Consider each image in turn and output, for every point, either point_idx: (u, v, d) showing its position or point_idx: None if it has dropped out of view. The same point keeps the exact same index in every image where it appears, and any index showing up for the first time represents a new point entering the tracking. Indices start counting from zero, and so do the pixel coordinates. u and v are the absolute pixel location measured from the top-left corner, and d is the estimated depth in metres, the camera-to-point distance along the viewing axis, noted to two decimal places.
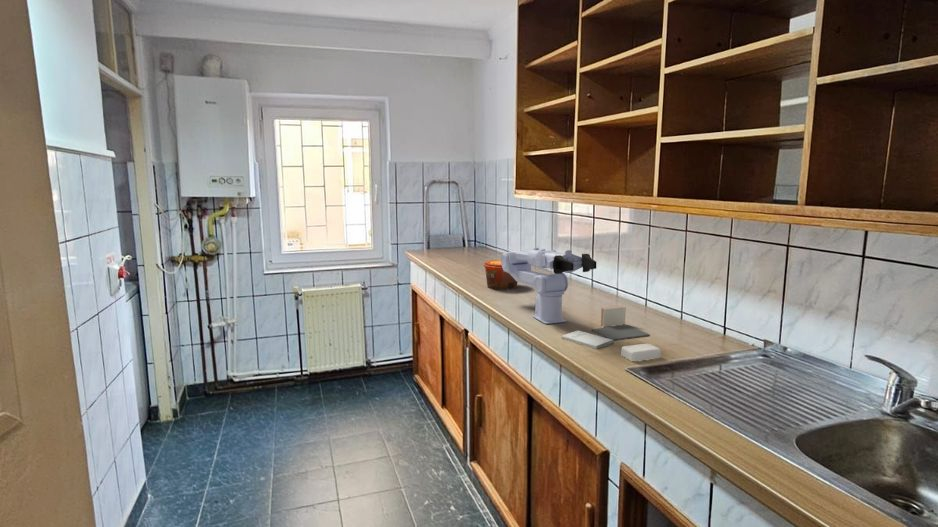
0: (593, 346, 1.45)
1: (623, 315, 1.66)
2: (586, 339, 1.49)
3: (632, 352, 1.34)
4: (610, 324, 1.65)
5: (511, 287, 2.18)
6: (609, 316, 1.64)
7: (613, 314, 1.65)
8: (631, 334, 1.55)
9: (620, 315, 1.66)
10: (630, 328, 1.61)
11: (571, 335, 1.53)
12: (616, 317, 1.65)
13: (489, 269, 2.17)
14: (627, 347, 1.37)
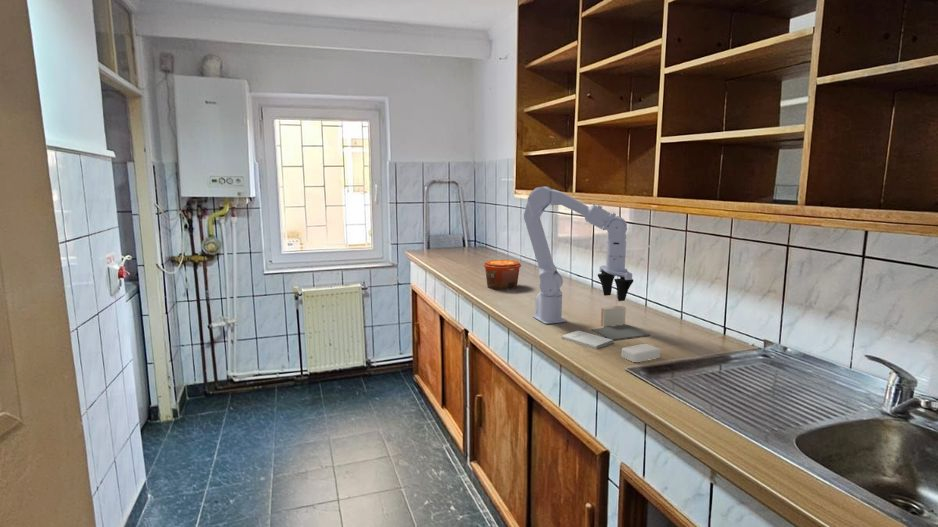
0: (593, 346, 1.45)
1: (623, 315, 1.66)
2: (586, 339, 1.49)
3: (634, 353, 1.33)
4: (610, 324, 1.65)
5: (511, 287, 2.18)
6: (609, 316, 1.64)
7: (613, 314, 1.65)
8: (631, 334, 1.55)
9: (620, 315, 1.66)
10: (630, 328, 1.61)
11: (571, 335, 1.53)
12: (616, 317, 1.65)
13: (489, 269, 2.17)
14: (628, 348, 1.36)
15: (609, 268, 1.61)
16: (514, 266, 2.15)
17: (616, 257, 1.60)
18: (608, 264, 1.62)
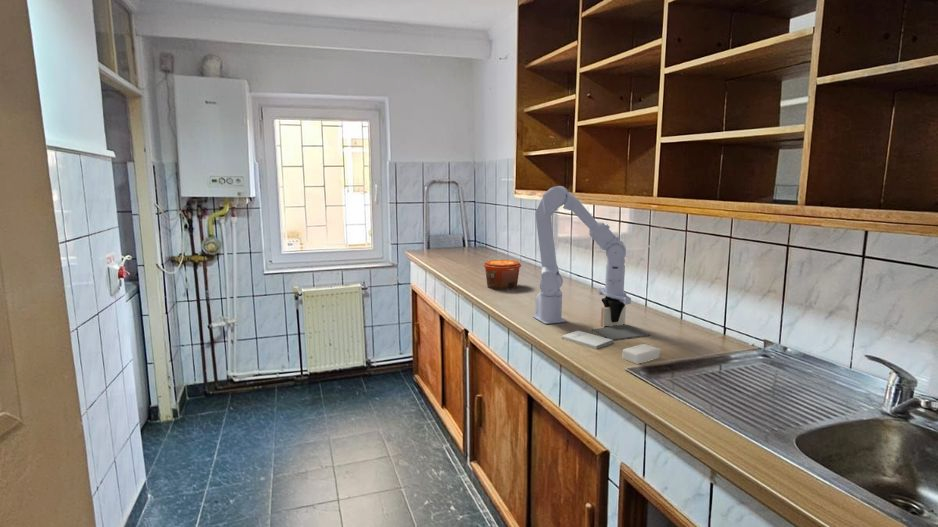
0: (593, 346, 1.45)
1: (623, 315, 1.66)
2: (586, 339, 1.49)
3: (637, 354, 1.32)
4: (610, 324, 1.65)
5: (511, 287, 2.18)
6: (609, 316, 1.64)
7: None
8: (631, 334, 1.55)
9: (620, 314, 1.66)
10: (630, 328, 1.61)
11: (571, 335, 1.53)
12: None
13: (489, 269, 2.17)
14: (629, 349, 1.36)
15: (608, 292, 1.63)
16: (514, 266, 2.15)
17: (615, 281, 1.61)
18: (607, 288, 1.63)
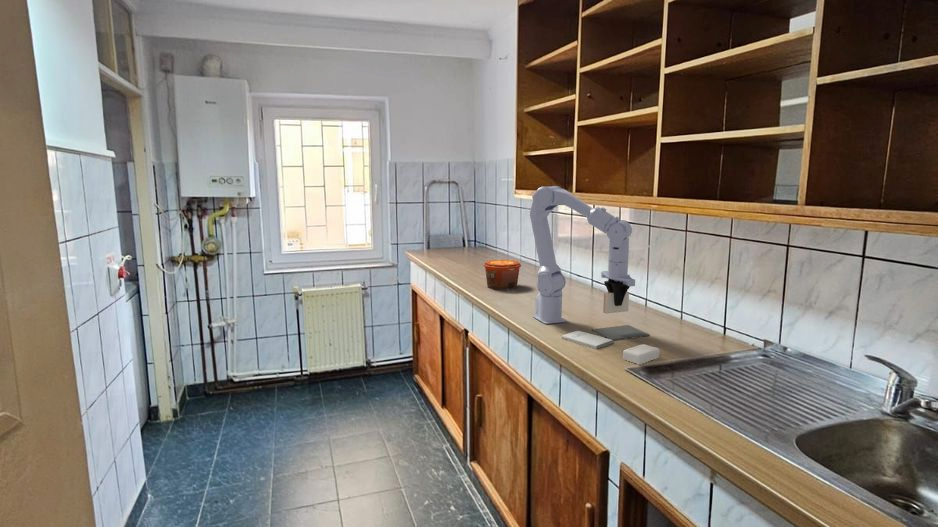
0: (593, 346, 1.45)
1: (626, 301, 1.59)
2: (586, 339, 1.49)
3: (638, 355, 1.32)
4: (613, 310, 1.58)
5: (511, 287, 2.18)
6: (612, 302, 1.57)
7: None
8: (631, 334, 1.55)
9: (623, 300, 1.58)
10: (630, 328, 1.61)
11: (571, 335, 1.53)
12: None
13: (489, 269, 2.17)
14: (629, 350, 1.35)
15: (611, 274, 1.55)
16: (514, 266, 2.15)
17: (618, 262, 1.54)
18: (610, 270, 1.56)
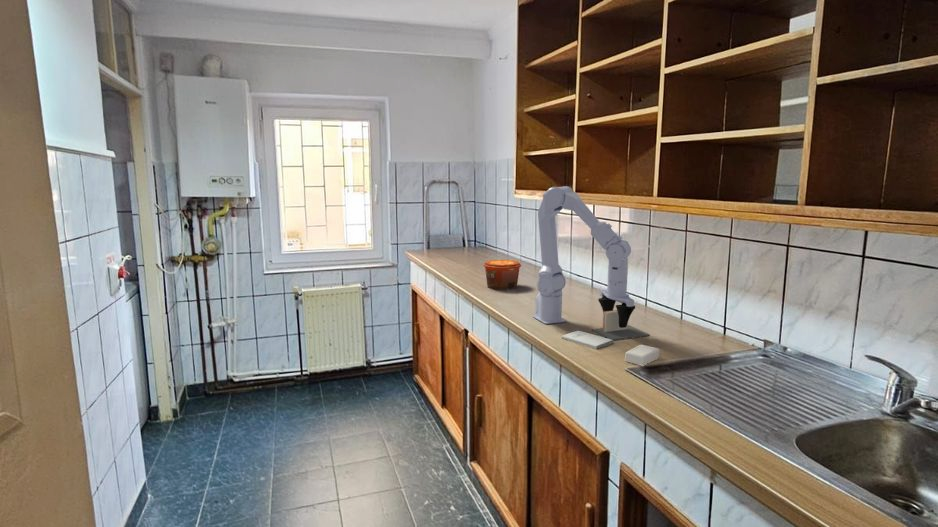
0: (593, 346, 1.45)
1: None
2: (586, 339, 1.49)
3: (642, 356, 1.31)
4: (612, 328, 1.59)
5: (511, 287, 2.18)
6: (611, 320, 1.58)
7: (615, 318, 1.58)
8: (631, 334, 1.55)
9: None
10: (630, 328, 1.61)
11: (571, 335, 1.53)
12: (618, 321, 1.59)
13: (489, 269, 2.17)
14: (631, 352, 1.34)
15: (610, 294, 1.56)
16: (514, 266, 2.15)
17: (617, 282, 1.55)
18: (609, 289, 1.57)
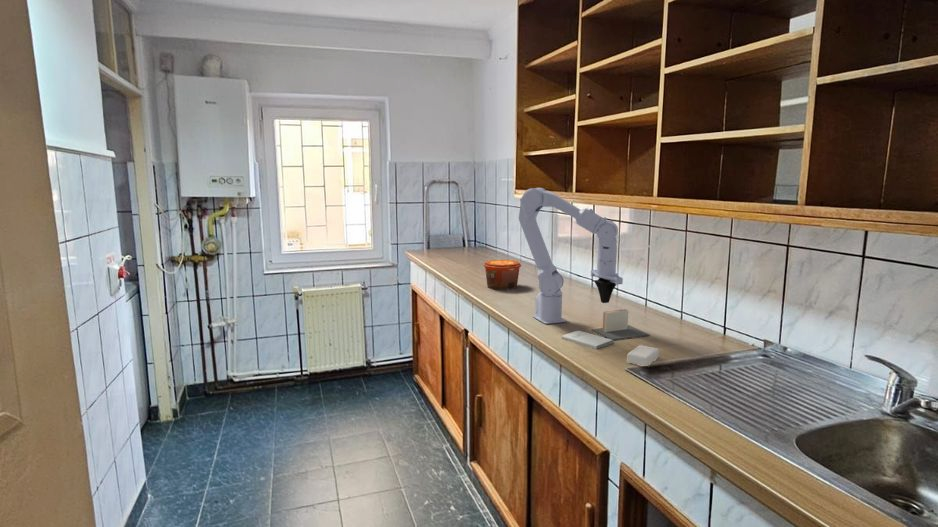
0: (593, 346, 1.45)
1: (625, 319, 1.60)
2: (586, 339, 1.49)
3: (645, 357, 1.30)
4: (612, 328, 1.59)
5: (511, 287, 2.18)
6: (611, 320, 1.58)
7: (615, 318, 1.58)
8: (631, 334, 1.55)
9: (623, 319, 1.59)
10: (630, 328, 1.61)
11: (571, 335, 1.53)
12: (618, 321, 1.59)
13: (489, 269, 2.17)
14: (634, 353, 1.33)
15: (600, 272, 1.61)
16: (514, 266, 2.15)
17: (607, 261, 1.59)
18: (599, 268, 1.61)
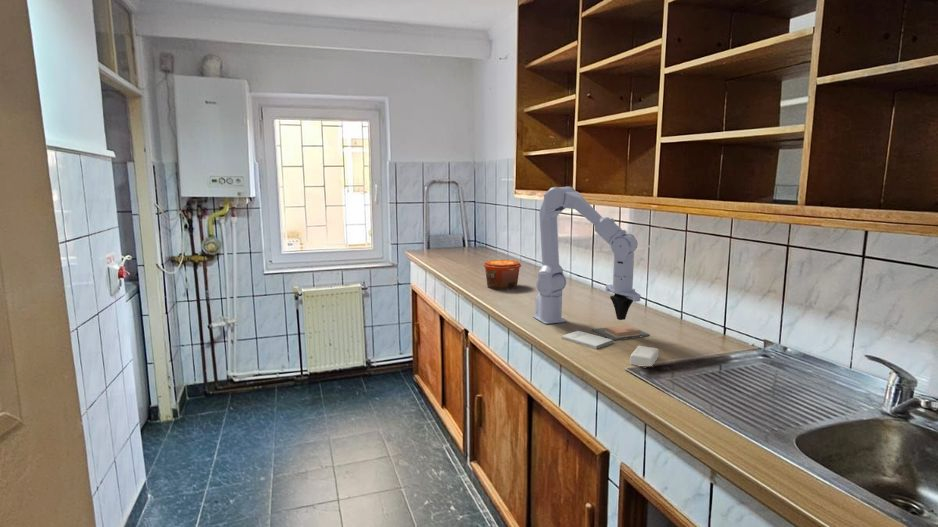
0: (593, 346, 1.45)
1: None
2: (586, 339, 1.49)
3: (649, 358, 1.30)
4: None
5: (511, 287, 2.18)
6: None
7: None
8: None
9: None
10: None
11: (571, 335, 1.53)
12: None
13: (489, 269, 2.17)
14: (636, 354, 1.32)
15: (616, 288, 1.53)
16: (514, 266, 2.15)
17: (623, 277, 1.52)
18: (615, 284, 1.54)
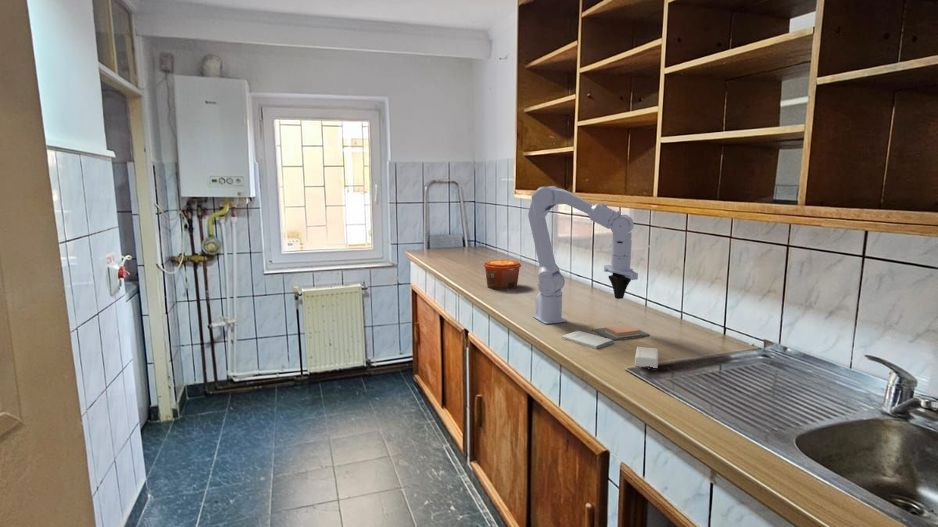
0: (593, 346, 1.45)
1: None
2: (586, 339, 1.49)
3: (655, 359, 1.29)
4: None
5: (511, 287, 2.18)
6: None
7: None
8: None
9: None
10: None
11: (571, 335, 1.53)
12: None
13: (489, 269, 2.17)
14: (641, 355, 1.31)
15: (614, 268, 1.57)
16: (514, 266, 2.15)
17: (621, 256, 1.55)
18: (613, 263, 1.57)
